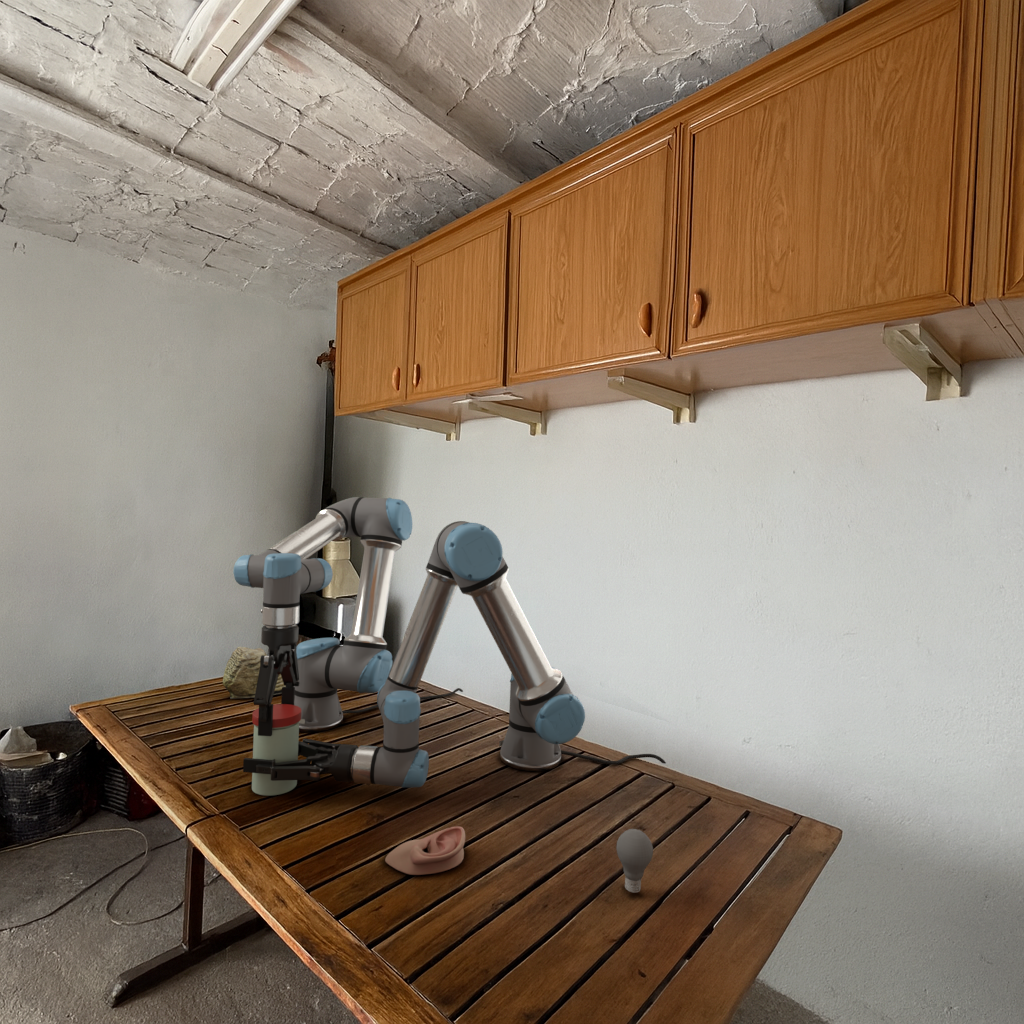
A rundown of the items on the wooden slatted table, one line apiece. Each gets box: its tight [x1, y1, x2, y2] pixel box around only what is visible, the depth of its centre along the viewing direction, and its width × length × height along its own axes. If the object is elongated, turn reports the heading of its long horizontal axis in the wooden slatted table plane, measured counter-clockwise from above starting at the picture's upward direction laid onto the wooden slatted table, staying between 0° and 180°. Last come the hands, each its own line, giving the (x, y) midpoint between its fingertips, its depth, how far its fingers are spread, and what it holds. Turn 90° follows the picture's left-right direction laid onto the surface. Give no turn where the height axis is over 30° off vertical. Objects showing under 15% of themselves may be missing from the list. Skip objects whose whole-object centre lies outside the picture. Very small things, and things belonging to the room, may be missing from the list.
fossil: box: [222, 646, 286, 699], centre depth 198 cm, size 9×18×15 cm, turn 132°
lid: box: [251, 703, 301, 728], centre depth 138 cm, size 10×10×2 cm
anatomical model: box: [384, 826, 466, 876], centre depth 113 cm, size 13×4×12 cm
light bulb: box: [615, 828, 654, 894], centre depth 106 cm, size 6×6×10 cm
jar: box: [251, 722, 300, 797], centre depth 138 cm, size 9×9×16 cm
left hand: (276, 725), depth 138 cm, fingers open, 11 cm apart
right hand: (255, 755), depth 138 cm, fingers closed on jar, 9 cm apart
